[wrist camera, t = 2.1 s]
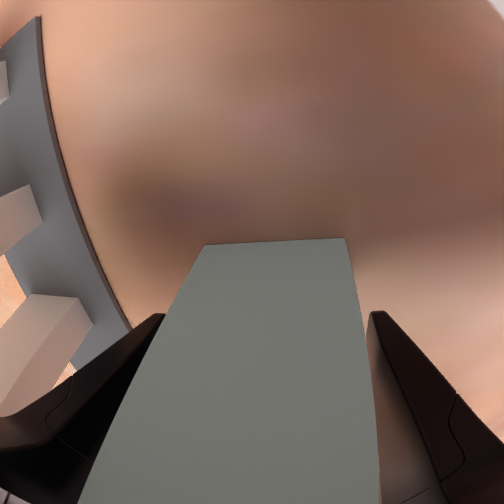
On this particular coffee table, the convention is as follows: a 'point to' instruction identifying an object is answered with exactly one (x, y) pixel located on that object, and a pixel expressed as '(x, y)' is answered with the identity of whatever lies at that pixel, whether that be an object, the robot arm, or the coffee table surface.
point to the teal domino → (250, 388)
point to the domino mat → (49, 201)
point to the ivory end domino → (3, 82)
